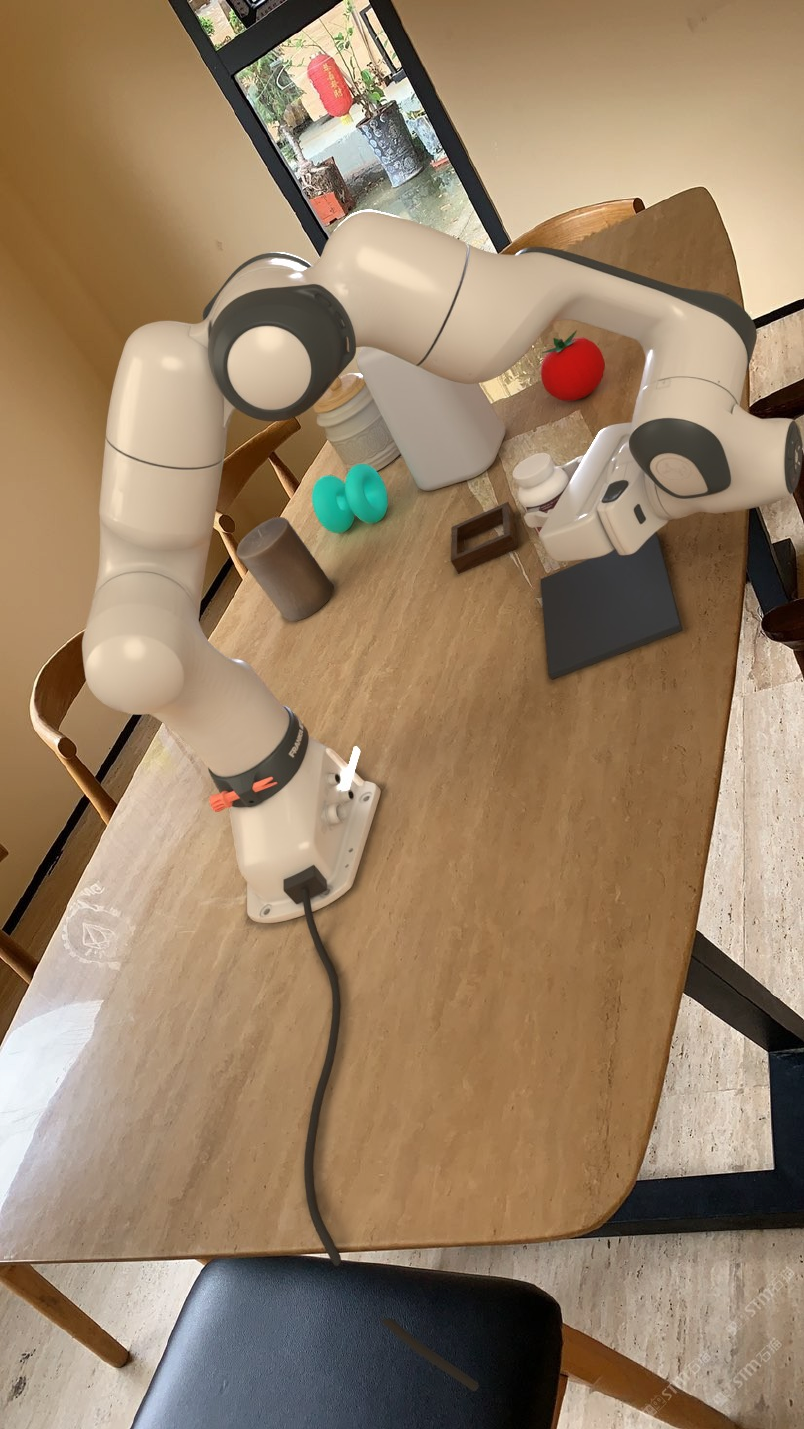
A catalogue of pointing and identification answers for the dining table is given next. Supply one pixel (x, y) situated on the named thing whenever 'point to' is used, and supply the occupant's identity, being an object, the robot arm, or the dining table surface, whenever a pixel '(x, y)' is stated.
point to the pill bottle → (539, 483)
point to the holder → (488, 549)
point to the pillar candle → (285, 569)
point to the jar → (355, 424)
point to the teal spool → (350, 498)
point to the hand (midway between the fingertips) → (540, 497)
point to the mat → (607, 607)
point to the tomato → (572, 368)
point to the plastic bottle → (433, 420)
